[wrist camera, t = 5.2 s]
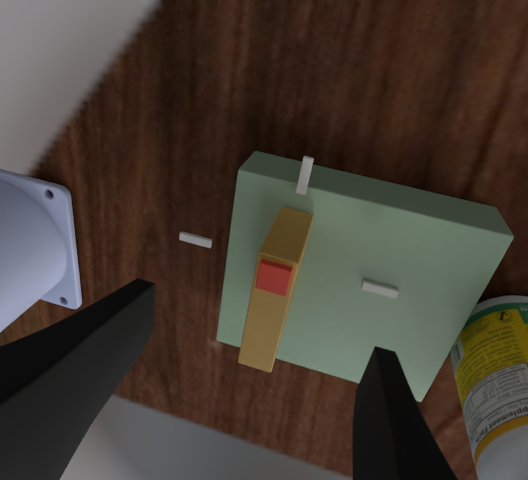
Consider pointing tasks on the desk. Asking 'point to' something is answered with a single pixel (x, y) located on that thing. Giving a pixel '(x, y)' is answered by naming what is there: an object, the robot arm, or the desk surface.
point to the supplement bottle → (495, 386)
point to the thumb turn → (274, 287)
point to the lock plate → (361, 266)
